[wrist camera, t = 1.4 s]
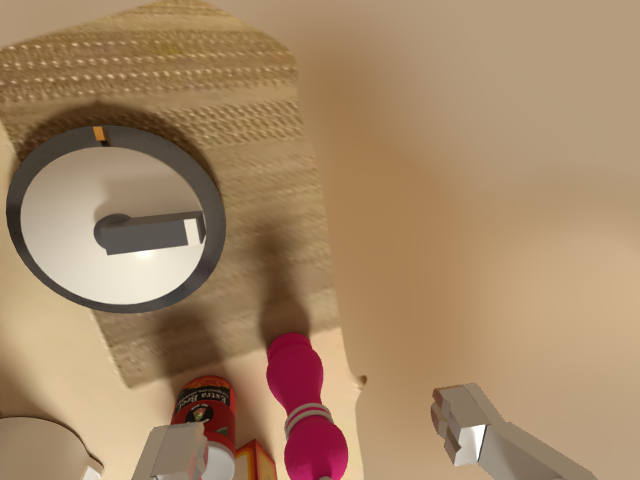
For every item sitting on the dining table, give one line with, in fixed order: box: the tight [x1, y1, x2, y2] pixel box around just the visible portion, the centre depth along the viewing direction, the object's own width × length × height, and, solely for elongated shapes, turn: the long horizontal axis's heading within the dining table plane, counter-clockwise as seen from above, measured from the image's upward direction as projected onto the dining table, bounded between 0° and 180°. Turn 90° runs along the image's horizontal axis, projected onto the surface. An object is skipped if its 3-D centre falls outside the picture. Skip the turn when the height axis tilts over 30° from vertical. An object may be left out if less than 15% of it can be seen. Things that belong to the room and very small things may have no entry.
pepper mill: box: [266, 333, 348, 480], centre depth 35 cm, size 7×7×20 cm
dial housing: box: [6, 125, 226, 313], centre depth 33 cm, size 20×20×3 cm
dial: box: [20, 147, 207, 304], centre depth 30 cm, size 16×16×6 cm
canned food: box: [170, 376, 236, 480], centre depth 38 cm, size 8×8×11 cm
